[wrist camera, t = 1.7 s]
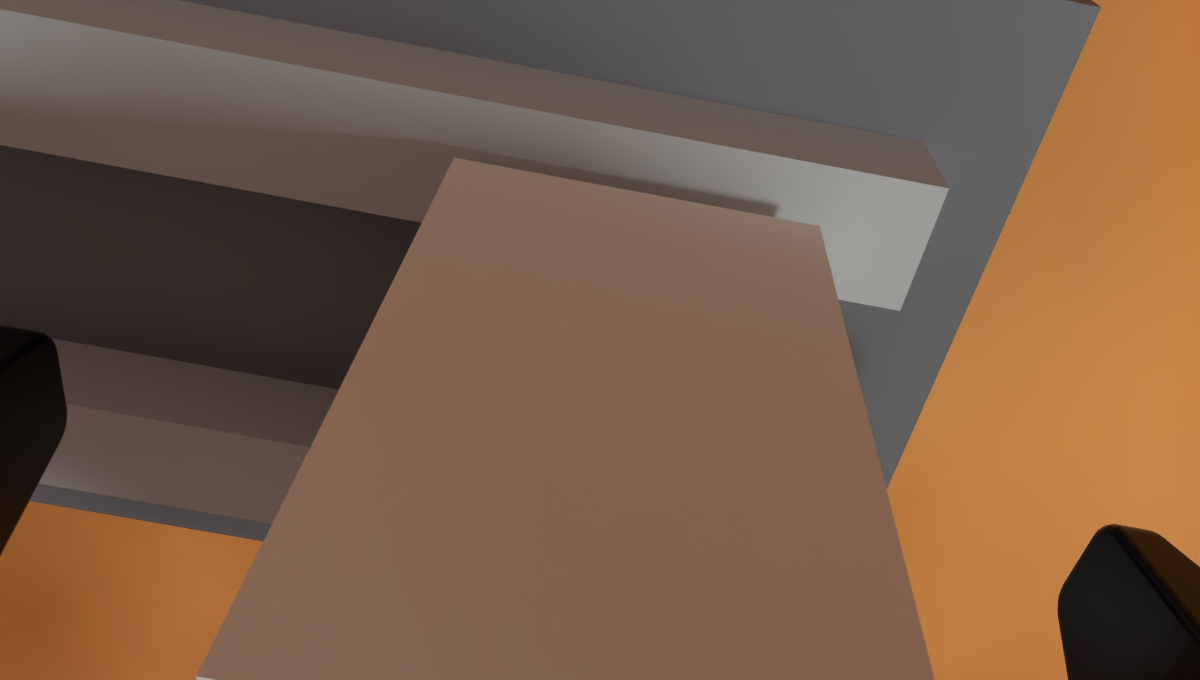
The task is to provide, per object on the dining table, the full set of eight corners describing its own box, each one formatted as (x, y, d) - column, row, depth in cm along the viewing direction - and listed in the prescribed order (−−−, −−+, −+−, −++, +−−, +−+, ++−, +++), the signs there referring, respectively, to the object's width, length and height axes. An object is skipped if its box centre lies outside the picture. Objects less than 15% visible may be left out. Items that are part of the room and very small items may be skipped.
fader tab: (441, 469, 11) (236, 1120, 6) (480, 104, 9) (195, 675, 4) (697, 514, 11) (708, 1192, 6) (805, 166, 9) (964, 805, 4)
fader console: (-220, 321, 14) (-455, 485, 11) (-455, -348, 10) (-941, -366, 7) (801, 503, 15) (830, 705, 12) (1016, -57, 10) (1148, 42, 7)
